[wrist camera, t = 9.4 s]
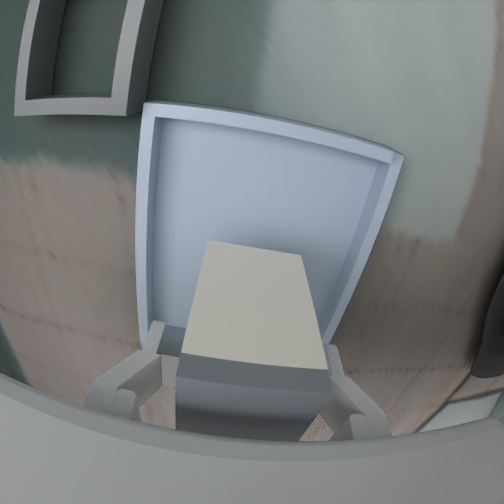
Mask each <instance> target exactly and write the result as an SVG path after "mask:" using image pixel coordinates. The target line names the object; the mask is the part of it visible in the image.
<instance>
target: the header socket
mask: <svg viewBox="0 0 504 504" xmlns="http://www.w3.org/2000/svg"><path fill="white" fill-rule="evenodd" d="M66 2H67V0H30V2H29V6H28V10H27V14H26V19H25V24H24V29H23V34H22V40H21V46H20V52H19V60H18V68H17V78H16V90H15V108H14V116H25V115H54V114H85V115H115V116H128V115H131V114H134V113H138V112H141V111H143V104H144V102H146V95H147V88H148V81H149V74H150V68H151V62H152V56H153V50H154V45H155V40H156V35H157V30H158V25H159V20H160V16H161V11H162V7H163V3H164V0H128V3H127V7H126V11H125V16H124V20H123V25H122V30H121V35H120V41H119V46H118V52H117V58H116V65H115V71H114V79H113V86H112V94H66V95H52V86H53V76H54V68H55V60H56V53H57V47H58V41H59V35H60V30H61V24H62V20H63V15H64V10H65V6H66Z"/></svg>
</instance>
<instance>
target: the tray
mask: <svg viewBox="0 0 504 504" xmlns="http://www.w3.org/2000/svg"><path fill="white" fill-rule="evenodd" d="M403 159H404V155H403V154H401V153H399V152H397V151H395V150H394V149H392V148H390V147H388V146H385V145H382V144H379V143H375V142H372V141H369V140H366V139H363V138H359V137H356V136H352V135H349V134H345V133H342V132H338V131H334V130H331V129H327V128H323V127H319V126H315V125H311V124H307V123H302V122H298V121H294V120H289V119H285V118H280V117H275V116H270V115H265V114H259V113H254V112H248V111H243V110H236V109H230V108H223V107H217V106H209V105H201V104H193V103H184V102H174V101H163V100H155V101H149V102H144V104H143V113H142V122H141V132H140V143H139V155H138V170H137V189H136V226H135V252H136V289H137V308H138V323H139V335H140V346H142V347H143V346H144V343H145V340H146V337H147V334H148V332H149V329H150V326H151V323H152V322H153V320H157V321H162V322H166V323H167V322H168V323H172V324H177V325H182V326H187V324H188V319H189V315H190V311H191V307H192V303H193V298H194V294H195V290H196V286H197V282H198V278H199V274H200V270H201V266H202V263H203V259H204V255H205V251H206V247H207V243H208V240H212V241H219V242H225V243H231V244H237V245H243V246H249V247H255V248H261V249H267V250H273V251H279V252H285V253H291V254H297V255H301V257H302V261H303V265H304V269H305V273H306V277H307V281H308V285H309V289H310V293H311V297H312V301H313V305H314V310H315V314H316V318H317V323H318V327H319V331H320V336H321V340H322V344H329V343H330V341H331V339H332V337H333V335H334V333H335V331H336V329H337V326H338V324H339V322H340V320H341V318H342V316H343V314H344V312H345V310H346V307H347V305H348V303H349V301H350V299H351V297H352V294H353V292H354V290H355V288H356V285H357V283H358V281H359V278H360V276H361V274H362V271H363V269H364V267H365V264H366V262H367V259H368V257H369V255H370V252H371V250H372V247H373V245H374V242H375V239H376V237H377V234H378V232H379V229H380V226H381V224H382V221H383V218H384V216H385V213H386V210H387V207H388V205H389V202H390V199H391V196H392V193H393V190H394V187H395V184H396V181H397V178H398V175H399V172H400V169H401V166H402V163H403Z"/></svg>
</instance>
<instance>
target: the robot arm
mask: <svg viewBox="0 0 504 504" xmlns="http://www.w3.org/2000/svg"><path fill="white" fill-rule="evenodd" d="M186 328H187V326H182V325H177V324H172V323H168V322H167V323H166V322H162V321H157V320H153V322H152V323H151V326H150V329H149V332H148V334H147V337H146V340H145V343H144V346H143V349H142V351H141V350H137V351H136V352H135V353H133V354H132V355H130V356H129V357H127V358H126V359H124V360H123V361H121V362H120V363H118V364H117V365H115V366H114V367H112V368H111V369H109V370H108V371H106V372H105V373H103V374H102V375H100V376H99V377H97V378H96V379H94V381H93V383H92V386H91V388H90V391H89V393H88V396H87V398H86V401H85V403H84V406H81V405H78V404H75V403H72V402H69V401H66V400H63V399H61V398H58V397H55V396H53V395H50V394H47V393H45V392H42V391H40V390H37V389H35V388H33V387H30V386H28V385H26V384H23V383H21V382H19V381H16V380H14V379H12V378H10V377H8V376H6V375H4V374H2V373H0V504H504V424H503V423H502V422H501V421H500V420H498V419H497V418H495V417H487V418H483V419H480V420H476V421H472V422H468V423H464V424H460V425H455V426H451V427H446V428H441V429H436V430H431V431H425V432H419V433H413V434H406V435H399V436H392V434H391V431H390V427H389V424H388V420H387V417H386V413H385V411H384V410H383V409H382V408H380V407H379V406H378V405H377V404H376V403H375V402H374V401H373V400H372V399H371V398H370V397H369V396H368V395H367V394H366V393H365V392H364V391H363V390H362V389H361V388H360V387H359V386H358V385H357V384H356V383H355V382H354V381H353V380H352V379H351V378H350V377H349V376H345V375H344V371H343V367H342V363H341V359H340V356H339V352H338V348H337V346H336V345H332V344H322V345H323V349H324V354H325V358H326V363H327V368H328V372H329V377H330V382H331V387H332V392H333V393H332V394H331V396H330V397H329V399H328V400H327V402H326V403H325V404H324V406H323V407H322V409H321V410H320V412H319V414H320V415H321V416H322V418H323V419H324V420H325V422H326V423H327V424H328V426H329V427H330V428H331V430H332V431H333V432H334V435H333V436H332V437H331V439H330V440H329V441H273V440H256V439H243V438H232V437H223V436H215V435H207V434H200V433H194V432H187V431H181V430H176V429H170V428H165V427H160V426H155V425H151V424H146V423H142V422H141V418H140V413H139V407H140V406H141V405H142V404H143V403H144V402H145V401H146V400H147V399H148V398H149V397H150V396H152V395H153V394H154V393H155V392H156V391H157V390H158V389H159V388H160V387H161V386H162V385H167V386H173V387H176V373H177V368H178V363H179V359H180V354H181V350H182V345H183V341H184V337H185V332H186Z"/></svg>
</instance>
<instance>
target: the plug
mask: <svg viewBox="0 0 504 504" xmlns="http://www.w3.org/2000/svg"><path fill="white" fill-rule="evenodd" d="M332 393H333V392H332V387H331V382H330V377H329V372H328V368H327V363H326V358H325V354H324V349H323V345H322V340H321V336H320V331H319V327H318V323H317V318H316V314H315V310H314V305H313V301H312V297H311V293H310V289H309V285H308V281H307V277H306V273H305V269H304V265H303V261H302V257H301V255H297V254H291V253H285V252H279V251H273V250H267V249H261V248H255V247H249V246H243V245H237V244H231V243H225V242H219V241H212V240H208V243H207V247H206V251H205V255H204V259H203V263H202V266H201V270H200V274H199V278H198V282H197V286H196V290H195V294H194V298H193V303H192V307H191V311H190V315H189V319H188V324H187V328H186V332H185V337H184V341H183V345H182V350H181V354H180V359H179V363H178V368H177V373H176V430H181V431H187V432H194V433H200V434H207V435H215V436H223V437H232V438H243V439H256V440H273V441H298V440H299V439H300V438H301V436H302V435H303V434H304V432H305V431H306V430H307V428H308V427H309V426H310V424H311V423H312V422H313V420H314V419H315V417H316V416H317V415H318V413H319V412H320V410H321V409H322V407H323V406H324V404H325V403H326V402H327V400H328V399H329V397H330V396H331V394H332Z"/></svg>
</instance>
